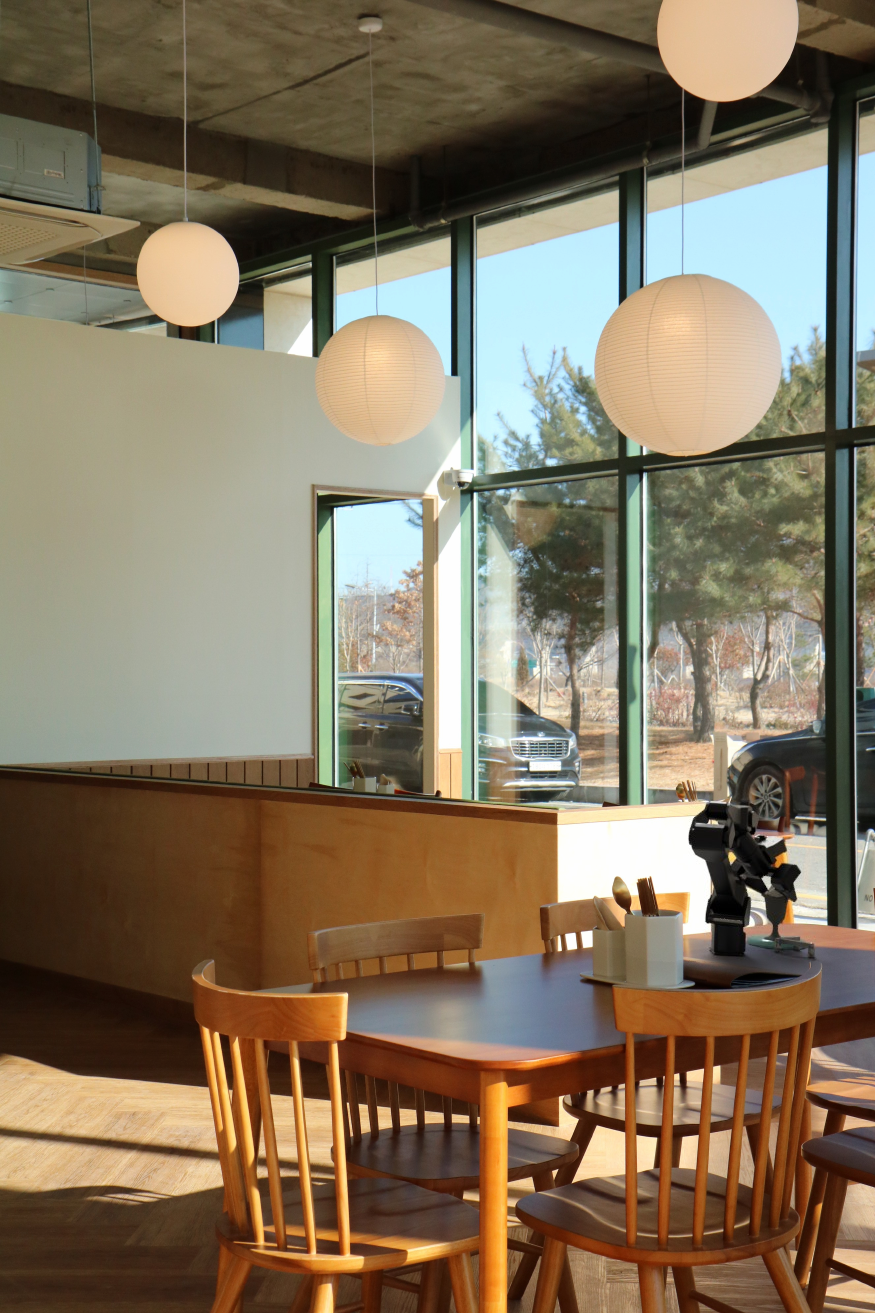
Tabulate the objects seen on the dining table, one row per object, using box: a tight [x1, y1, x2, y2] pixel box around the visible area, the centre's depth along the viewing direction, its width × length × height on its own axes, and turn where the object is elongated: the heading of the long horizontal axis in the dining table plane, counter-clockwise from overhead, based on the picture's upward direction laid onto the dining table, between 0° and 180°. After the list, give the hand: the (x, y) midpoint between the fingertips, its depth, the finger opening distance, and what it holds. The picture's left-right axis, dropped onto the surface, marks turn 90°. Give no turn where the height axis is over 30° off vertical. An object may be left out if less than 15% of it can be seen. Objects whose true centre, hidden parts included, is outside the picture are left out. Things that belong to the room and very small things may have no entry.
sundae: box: [760, 884, 790, 941], centre depth 301 cm, size 7×7×15 cm
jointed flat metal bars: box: [774, 935, 816, 959], centre depth 289 cm, size 7×10×3 cm
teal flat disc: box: [746, 934, 806, 950], centre depth 301 cm, size 13×13×1 cm
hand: (781, 898), depth 302 cm, fingers open, 8 cm apart
